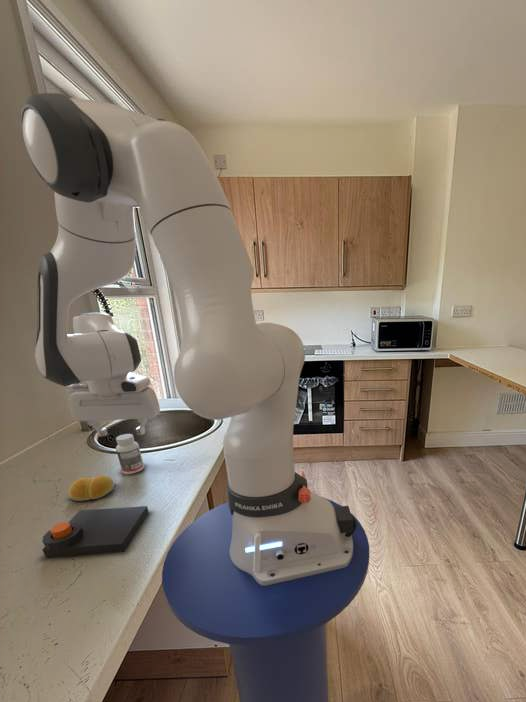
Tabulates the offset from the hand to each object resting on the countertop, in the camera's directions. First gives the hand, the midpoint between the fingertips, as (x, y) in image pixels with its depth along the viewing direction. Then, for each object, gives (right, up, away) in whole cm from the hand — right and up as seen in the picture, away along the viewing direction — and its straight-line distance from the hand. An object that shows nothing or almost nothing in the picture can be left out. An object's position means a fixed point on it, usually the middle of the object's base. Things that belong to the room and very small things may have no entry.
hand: (122, 434), depth 90 cm
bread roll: (-4, -14, -6) cm, 16 cm away
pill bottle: (+1, -10, +4) cm, 11 cm away
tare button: (+3, -18, -25) cm, 31 cm away
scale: (+8, -20, -20) cm, 29 cm away
